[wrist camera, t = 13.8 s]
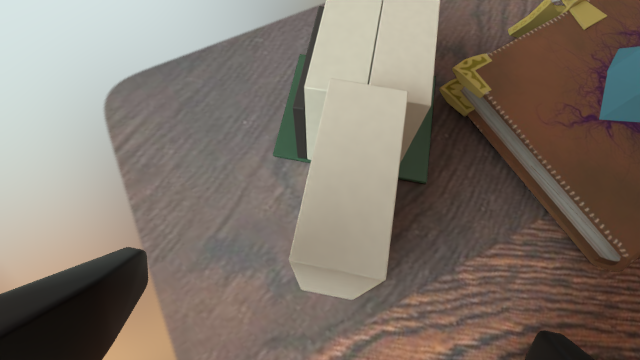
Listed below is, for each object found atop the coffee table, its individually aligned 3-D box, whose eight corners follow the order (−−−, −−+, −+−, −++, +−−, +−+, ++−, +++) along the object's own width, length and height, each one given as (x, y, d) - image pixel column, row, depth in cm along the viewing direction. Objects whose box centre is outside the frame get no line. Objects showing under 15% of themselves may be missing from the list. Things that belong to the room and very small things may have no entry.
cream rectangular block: (352, 300, 20) (386, 280, 11) (300, 289, 20) (288, 260, 11) (370, 186, 22) (408, 90, 13) (323, 177, 23) (330, 77, 13)
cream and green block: (425, 184, 23) (480, 116, 15) (273, 156, 23) (253, 77, 16) (434, 78, 26) (483, -21, 18) (300, 56, 26) (294, -49, 19)
